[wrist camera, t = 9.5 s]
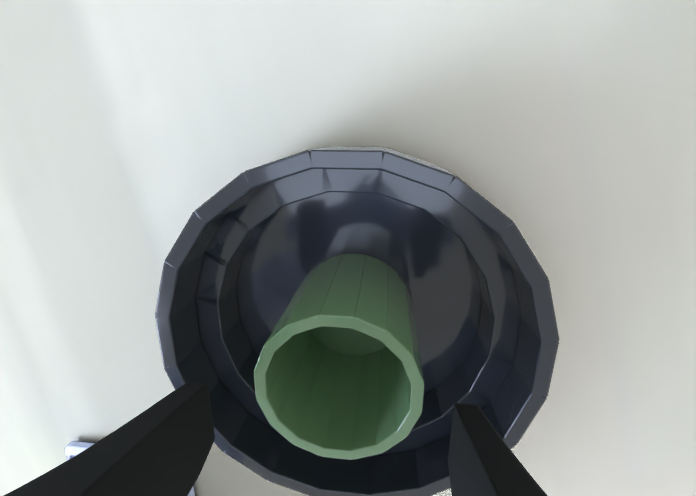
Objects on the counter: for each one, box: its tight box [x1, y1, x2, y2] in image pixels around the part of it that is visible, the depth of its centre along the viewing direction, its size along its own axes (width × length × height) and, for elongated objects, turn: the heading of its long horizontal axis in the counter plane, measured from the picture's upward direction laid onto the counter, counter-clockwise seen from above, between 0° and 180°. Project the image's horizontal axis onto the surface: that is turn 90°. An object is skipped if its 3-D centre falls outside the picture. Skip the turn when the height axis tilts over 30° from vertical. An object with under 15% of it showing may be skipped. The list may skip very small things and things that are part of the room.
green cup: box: [254, 253, 424, 460], centre depth 14 cm, size 5×5×6 cm
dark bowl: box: [155, 147, 559, 496], centre depth 15 cm, size 15×15×4 cm
